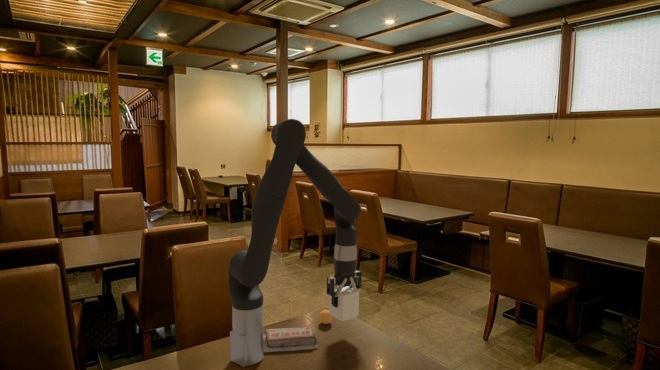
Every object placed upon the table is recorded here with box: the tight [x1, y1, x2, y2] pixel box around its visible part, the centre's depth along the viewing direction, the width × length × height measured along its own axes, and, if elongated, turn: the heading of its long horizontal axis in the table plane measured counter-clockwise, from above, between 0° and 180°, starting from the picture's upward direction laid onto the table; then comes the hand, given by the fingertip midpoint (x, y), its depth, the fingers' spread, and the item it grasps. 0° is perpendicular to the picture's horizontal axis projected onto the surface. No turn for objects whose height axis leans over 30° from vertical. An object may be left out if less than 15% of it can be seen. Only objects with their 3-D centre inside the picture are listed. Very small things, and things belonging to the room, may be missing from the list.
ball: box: [318, 309, 334, 325], centre depth 144 cm, size 5×5×5 cm
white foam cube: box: [328, 286, 360, 322], centre depth 134 cm, size 7×7×9 cm
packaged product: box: [263, 326, 318, 353], centre depth 130 cm, size 18×5×10 cm
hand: (343, 303), depth 135 cm, fingers closed on white foam cube, 7 cm apart
